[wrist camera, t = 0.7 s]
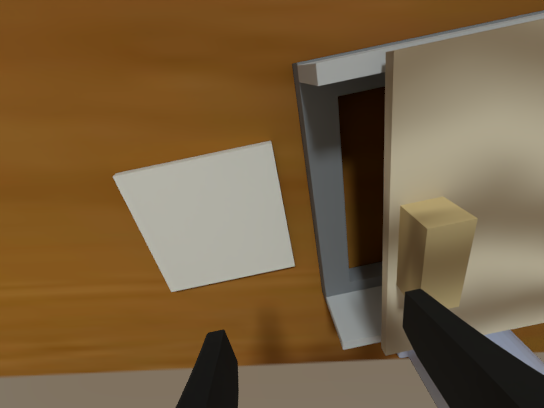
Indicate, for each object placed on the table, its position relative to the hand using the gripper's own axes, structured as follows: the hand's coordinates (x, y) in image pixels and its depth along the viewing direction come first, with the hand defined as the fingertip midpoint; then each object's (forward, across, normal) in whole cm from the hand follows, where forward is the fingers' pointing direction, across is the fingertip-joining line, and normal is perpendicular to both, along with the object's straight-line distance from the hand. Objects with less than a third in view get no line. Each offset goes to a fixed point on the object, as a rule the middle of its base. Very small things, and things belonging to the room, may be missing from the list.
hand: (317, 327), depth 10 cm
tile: (+10, +5, 0) cm, 11 cm away
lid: (+4, -11, 0) cm, 12 cm away
